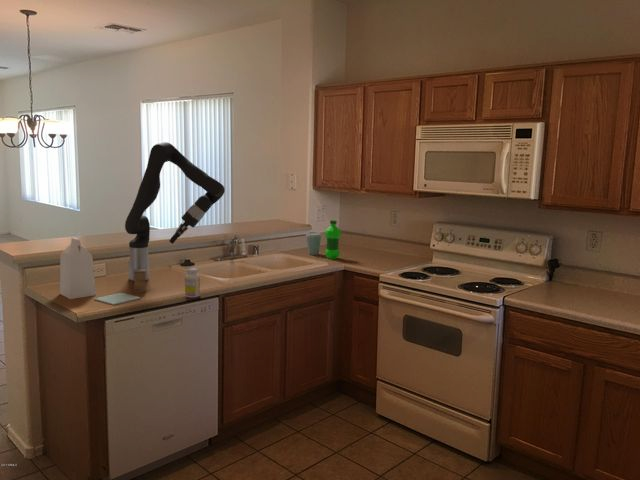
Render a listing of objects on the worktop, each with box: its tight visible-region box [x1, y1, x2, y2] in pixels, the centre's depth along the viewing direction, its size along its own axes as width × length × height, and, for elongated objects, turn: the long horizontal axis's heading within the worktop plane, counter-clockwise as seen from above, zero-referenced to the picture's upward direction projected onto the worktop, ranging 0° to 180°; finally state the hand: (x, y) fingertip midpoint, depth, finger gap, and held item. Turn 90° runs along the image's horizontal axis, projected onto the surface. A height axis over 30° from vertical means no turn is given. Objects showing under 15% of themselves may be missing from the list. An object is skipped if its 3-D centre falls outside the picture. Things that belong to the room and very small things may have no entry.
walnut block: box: [133, 269, 147, 293], centre depth 255 cm, size 5×5×10 cm
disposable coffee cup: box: [305, 231, 322, 256], centre depth 365 cm, size 11×11×15 cm
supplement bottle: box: [184, 267, 201, 299], centre depth 248 cm, size 7×7×13 cm
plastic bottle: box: [324, 219, 342, 260], centre depth 351 cm, size 10×11×25 cm
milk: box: [59, 237, 97, 300], centre depth 245 cm, size 12×12×26 cm
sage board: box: [93, 292, 142, 306], centre depth 240 cm, size 14×14×1 cm
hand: (171, 241), depth 255 cm, fingers open, 8 cm apart
